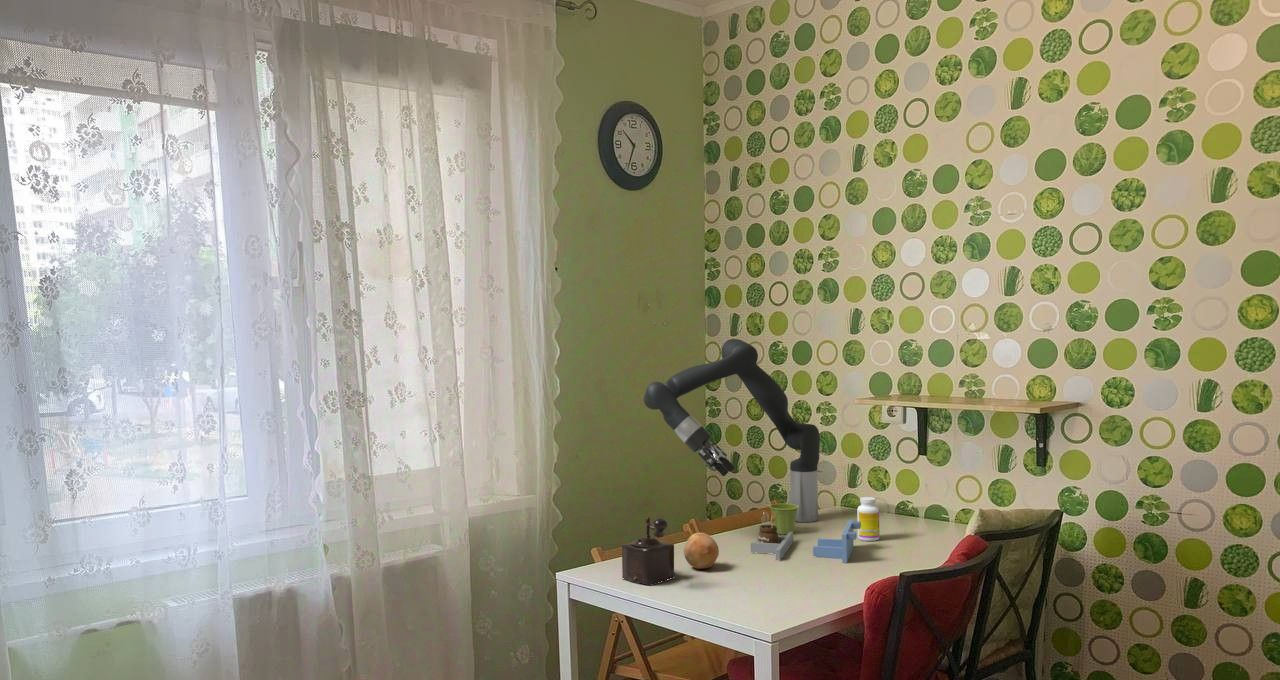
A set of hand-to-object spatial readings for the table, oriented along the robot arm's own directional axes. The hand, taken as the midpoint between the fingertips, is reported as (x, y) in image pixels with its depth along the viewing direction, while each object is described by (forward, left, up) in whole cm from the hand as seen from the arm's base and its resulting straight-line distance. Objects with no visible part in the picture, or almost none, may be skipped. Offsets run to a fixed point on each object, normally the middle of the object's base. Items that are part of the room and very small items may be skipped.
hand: (729, 472), depth 279 cm
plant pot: (-8, +25, -23) cm, 35 cm away
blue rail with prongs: (+23, +23, -23) cm, 39 cm away
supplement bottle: (+13, +42, -23) cm, 50 cm away
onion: (+16, -20, -23) cm, 35 cm away
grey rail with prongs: (+8, +8, -23) cm, 26 cm away
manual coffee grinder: (+20, -37, -23) cm, 48 cm away
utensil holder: (+8, +8, -23) cm, 26 cm away
